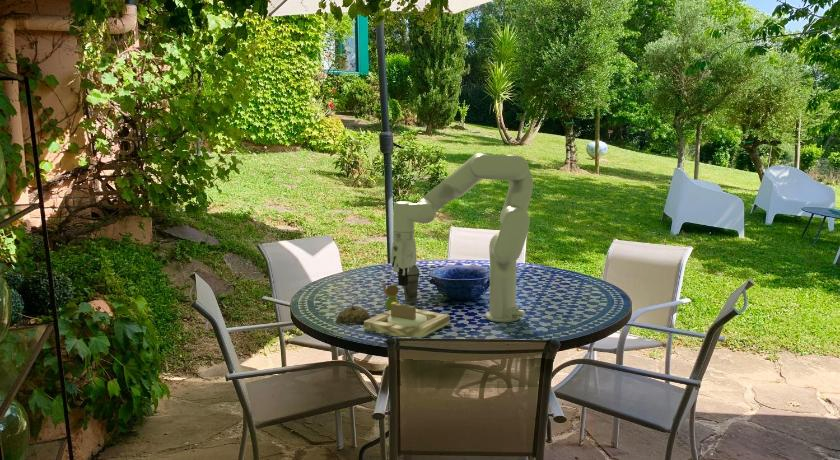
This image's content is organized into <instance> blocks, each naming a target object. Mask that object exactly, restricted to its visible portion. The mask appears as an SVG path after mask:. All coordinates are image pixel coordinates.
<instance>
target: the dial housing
mask: <svg viewBox="0 0 840 460" xmlns="http://www.w3.org/2000/svg"><path fill="white" fill-rule="evenodd" d="M416 313H419V314H423V315H425V316H426V317H427V322H425V323H423V324H421V325H419V326H417V327H415V328H410V327H405V326H400V325H395V324H390V323H388V317H389V316H391V310H387V311H385V312H382V313H380V314H378V315H375V316H373V317H370V319H368V320H366V321H364V323H363V330H364V329H367V330H366V331H368V330H372V331H371V332H373V331H376V332H375V333H377V332H381V333H380V334H382V333H385V334H384V335H387V334H388V336H392V337H396V336H398V337H397V338H401V337H422V338H425V336H428V335H430V334H432V333H434V332H436V331H437V330H439V329H441V328H443V327H446V326H447V325H449V324H451V315H450V314H444V313H440V312H435V311H430V310H429V311H428V310H423V309H418V308H416Z"/></svg>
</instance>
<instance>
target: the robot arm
mask: <svg viewBox="0 0 840 460" xmlns="http://www.w3.org/2000/svg"><path fill="white" fill-rule="evenodd" d="M482 180H493V181H508V189H507V194H506V197H505V201H504V203H503V207H502V209H501V212H500V215H499V222H500V229H499V232H498V233H495V234H494V235H493V236H492V237H491V238H490V241H489V244H488V245H489V246H488V249H489V311H486V312H485V316H484V317H485V319H487V320H488V321H491V322H495V323H496V322H497V323H512V322H515V321H519V320H520V318H525V317H526V310H524V309H519V305H516V304H517V303H516V301H517V298H516V297H517V261H518V259H519V258H520V256H521V254H522V252H523V248H524V245H525V242H526V239H527V236H528V232H529V230H530V225H531V218H530V215H529V213H528V209H529V205H530V202H531V199H532V195H533V190H534V189H533V188H534V180H533V176H532V171H531V170H530V167H529V163H528V161H527V160H526V158H524V157H523V156H521V155H519V154H516V153H511V154H507V155H497V154H487V153H485V152H478V153H476V154H474V155H472V156H471V157H469V159H467V160H466V161H465V162H464V163H462V165H460V166H459V167H458V168H456V169H455V171H453V172H452V173H451V174H450V175H449V176H447V177H446V178H445V179H443V180H442V181H441V182H440V183H439V184H438V185H436V186H435V187H434V188H433V189H431V190H430V191H429V192H427V193H426V194H425V195H424V196H422V197H421V198H420V199H419V200H418V201H417V203H413V202H412V201H409V200H400V201H395V202H394V203H393V207H392V208H393V209H392V211H393V214H392V216H393V217H392V218H393V220H392V222H393V223H392V225H393V226H392V244H391V255H390V257H391V259H390V260H391V261H390V264H391V265H390V266H392V268H393V269H392V271H393V272H396V274H397V278H398V279H397V284H398V286H401V287H404V286H407V285H408V275H407V274H409V269H410V268H411V267H412V266H413V265H416V263H417V247H416V245H417V244H416V240H415V223H420V224H429V223H431V222H433V221H434V220H435V218H436V217H437V215H436V214H437V212H438V211H439V210H441V209H442V208H443V207H444V206H446V205H447V204H449V203H451V201H454V200H456V199H459V198H461V197H463V196H464V195H465V194H467V193H468V192H469V191H470V190H471V189H472V188H474V187H475V186H476V185H477V184H478V183H480V182H481V181H482Z"/></svg>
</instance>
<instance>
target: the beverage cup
mask: <svg viewBox="0 0 840 460" xmlns="http://www.w3.org/2000/svg"><path fill="white" fill-rule="evenodd" d="M420 274H421V273H420V269H419V267H418V266H417V265H416V264H415V265H413V266H412V267H411V268H410V269H409V274H407V275H408V285H407V286H403V292H404V293H403V295H404V300H405V303H408V304H412V303H416V302H417V298H418V287H419V278H420Z"/></svg>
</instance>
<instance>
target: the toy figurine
mask: <svg viewBox="0 0 840 460" xmlns="http://www.w3.org/2000/svg"><path fill="white" fill-rule="evenodd" d="M381 282H382V284H381V285H382V291H383V293H384V295H385V296H386V297H387V299H386V300H385V302H384V306H385V308H386V309H387V311H389V310H391V303H392V302H397V303H398V304H400V302H399V300H398V298H397V297H399V294H398V293H399V287H398V286H397V285H396V284H390V285H388V286H386V283H384V280H382V281H381Z"/></svg>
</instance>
